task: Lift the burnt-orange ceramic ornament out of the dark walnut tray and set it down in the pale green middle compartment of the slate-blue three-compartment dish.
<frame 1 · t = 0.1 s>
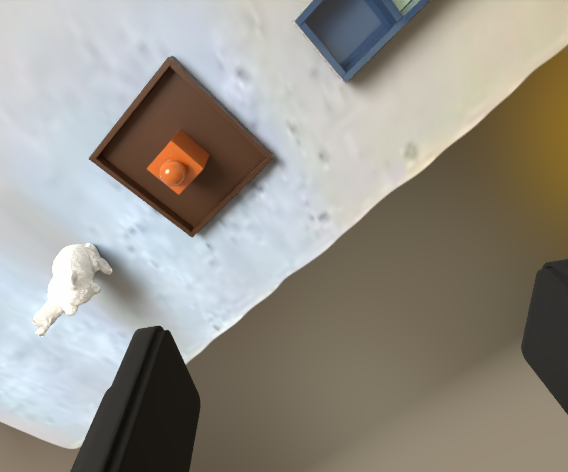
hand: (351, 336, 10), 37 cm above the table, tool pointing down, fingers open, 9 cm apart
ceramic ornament: (184, 154, 44), resting on walnut tray
white lumpy piece: (91, 256, 52), on the table
walnut tray: (184, 153, 45), on the table
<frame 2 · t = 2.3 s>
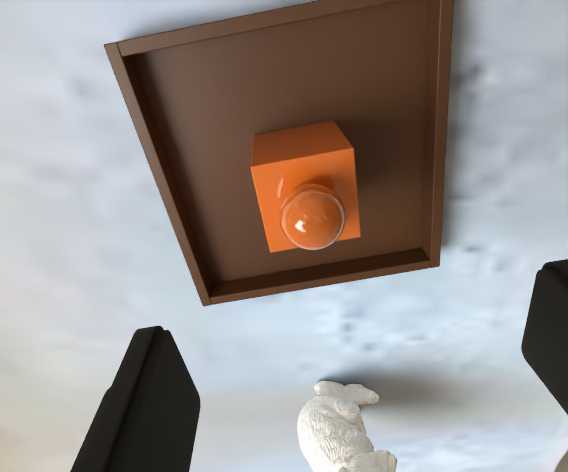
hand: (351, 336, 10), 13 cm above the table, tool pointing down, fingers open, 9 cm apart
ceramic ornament: (299, 166, 21), resting on walnut tray
white lumpy piece: (335, 391, 32), on the table
walnut tray: (298, 163, 21), on the table
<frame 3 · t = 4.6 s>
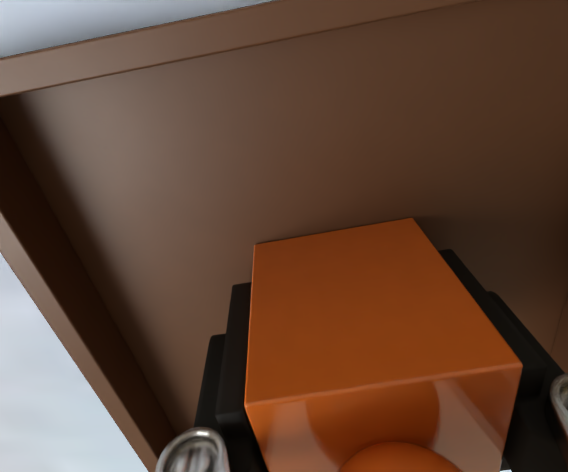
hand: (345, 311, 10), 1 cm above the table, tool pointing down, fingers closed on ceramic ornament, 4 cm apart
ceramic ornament: (340, 292, 11), resting on walnut tray, touching gripper
walnut tray: (337, 284, 11), on the table
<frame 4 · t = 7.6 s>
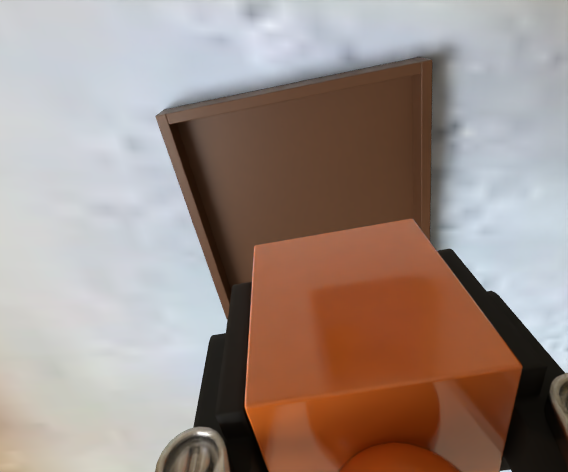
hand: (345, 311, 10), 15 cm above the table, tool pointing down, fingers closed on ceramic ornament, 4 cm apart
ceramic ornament: (340, 293, 11), point 14 cm above the table, touching gripper
walnut tray: (308, 200, 25), on the table
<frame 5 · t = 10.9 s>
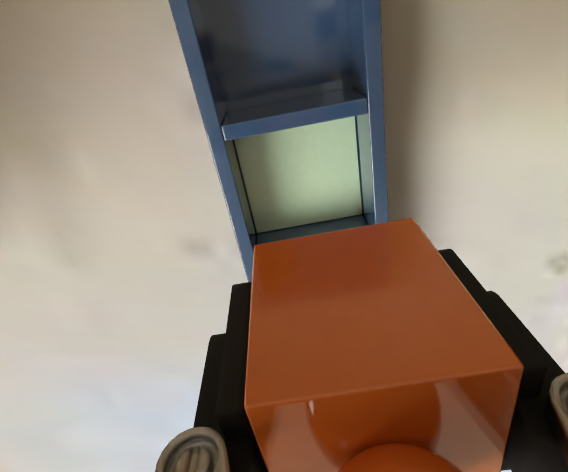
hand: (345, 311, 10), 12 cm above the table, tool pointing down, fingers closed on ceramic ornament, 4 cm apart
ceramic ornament: (340, 292, 11), point 11 cm above the table, touching gripper
three-compartment dish: (300, 169, 21), on the table
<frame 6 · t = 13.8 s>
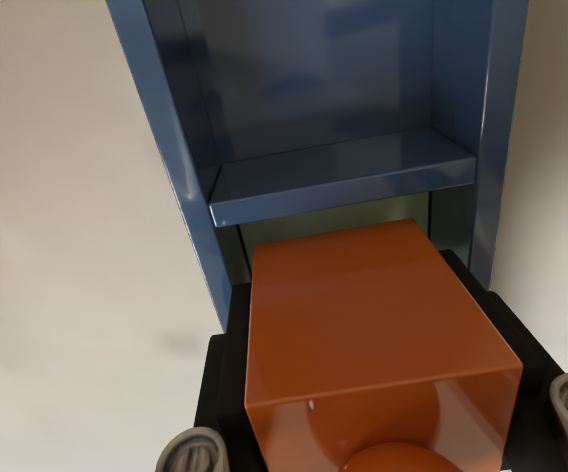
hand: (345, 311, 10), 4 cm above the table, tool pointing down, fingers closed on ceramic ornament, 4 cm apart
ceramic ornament: (340, 292, 11), point 3 cm above the table, touching gripper
three-compartment dish: (334, 243, 14), on the table
when the fingers open (4 cm above the table, at t = 17.5 s): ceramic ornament drops 2 cm, resting on three-compartment dish.
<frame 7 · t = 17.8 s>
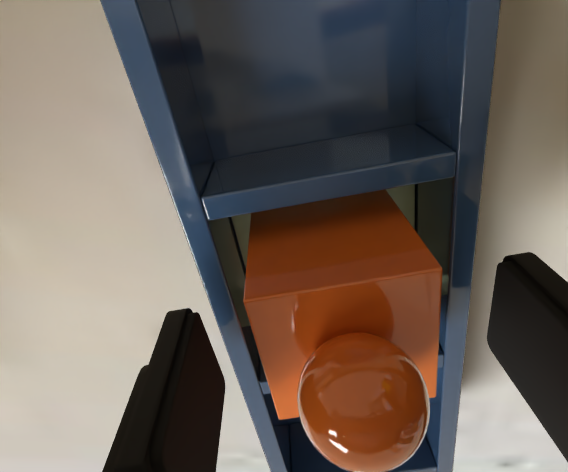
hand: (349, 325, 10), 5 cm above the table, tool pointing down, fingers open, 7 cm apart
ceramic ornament: (323, 248, 13), point 1 cm above the table, touching three-compartment dish
three-compartment dish: (325, 237, 14), on the table
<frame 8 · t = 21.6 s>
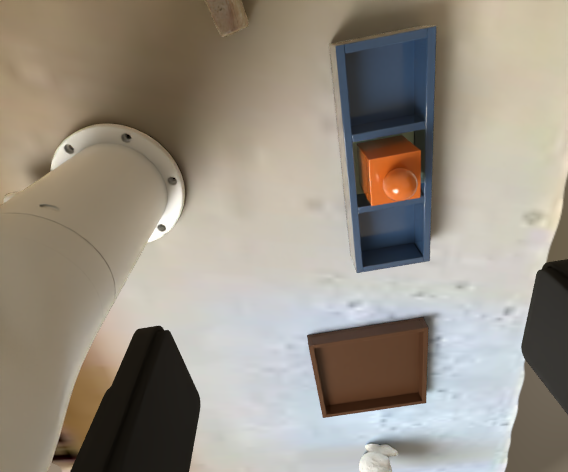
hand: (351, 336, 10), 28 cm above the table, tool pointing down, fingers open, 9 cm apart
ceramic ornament: (380, 160, 36), point 1 cm above the table, touching three-compartment dish
white lumpy piece: (375, 447, 62), on the table
three-compartment dish: (379, 158, 37), on the table
walnut tray: (368, 365, 52), on the table
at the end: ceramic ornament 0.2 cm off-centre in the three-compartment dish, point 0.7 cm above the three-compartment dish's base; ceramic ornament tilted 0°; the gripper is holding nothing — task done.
